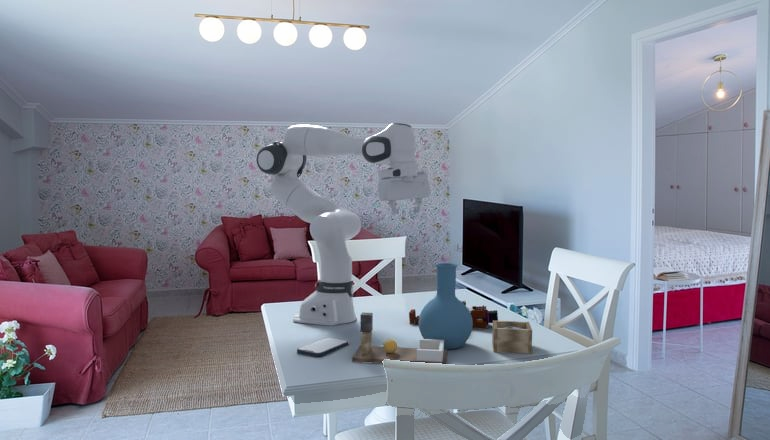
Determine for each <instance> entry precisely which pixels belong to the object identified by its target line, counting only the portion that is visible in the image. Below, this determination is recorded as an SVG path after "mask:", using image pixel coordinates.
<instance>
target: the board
mask: <svg viewBox="0 0 770 440" xmlns="http://www.w3.org/2000/svg"><path fill="white" fill-rule="evenodd" d="M417 349H420V347H403V346H402V347H400V346H398V347H397V350H396V351H395V352H394V353H387V352H386V351H385V350H384V345H383V346H381V345H378V346H377V345H372V349H371V351H370V352H369V354H368V355H362V354H361V344H360V345H359V346H358V347H357V349H356V351H355V353H354V354H353V356H352V358H351V363H363V362H372V363H371V364H381V363H382V361H383V360H384V359H390V360H400V361H410V362H425V363H442V364H446V365H447V358H448V349H444V353H443V360H442V362H435V361H417Z"/></svg>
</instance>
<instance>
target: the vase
mask: <svg viewBox="0 0 770 440" xmlns="http://www.w3.org/2000/svg"><path fill="white" fill-rule="evenodd" d="M434 265H435V267H436V296H434V297H433V298H432V299H430V300H429V301H428V302H427V303H426V304H425V305H424V306H423V308H422V309H421V311H420V313H419V315H418V316H419V324H418V329H419V332H420V335H421V337H422V339H435V340H444V350H454V349H459V348H461V347H463V346H464V345H465V344H466V343H467V341H468V340H469V338H470V336H471V334H472V331H473V328H472V326H473V322H472V317H471V314H470V312H469V310H468V308H469V307H468V308H467V305H466V306H465V305H464V304H463V303H462V302H461V301H462V300H461V299H459V298H458V297H457V295H456V284H457V283H456V281H457V267H458V266H459V264H457V263H453V262H439V263H435V264H434Z"/></svg>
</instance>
